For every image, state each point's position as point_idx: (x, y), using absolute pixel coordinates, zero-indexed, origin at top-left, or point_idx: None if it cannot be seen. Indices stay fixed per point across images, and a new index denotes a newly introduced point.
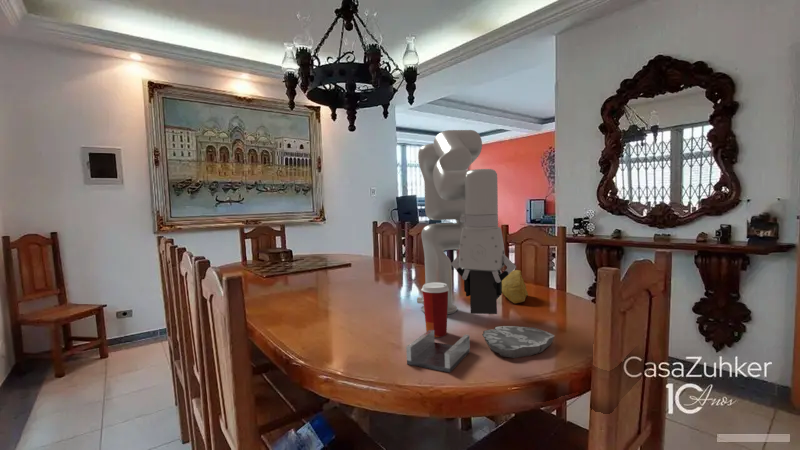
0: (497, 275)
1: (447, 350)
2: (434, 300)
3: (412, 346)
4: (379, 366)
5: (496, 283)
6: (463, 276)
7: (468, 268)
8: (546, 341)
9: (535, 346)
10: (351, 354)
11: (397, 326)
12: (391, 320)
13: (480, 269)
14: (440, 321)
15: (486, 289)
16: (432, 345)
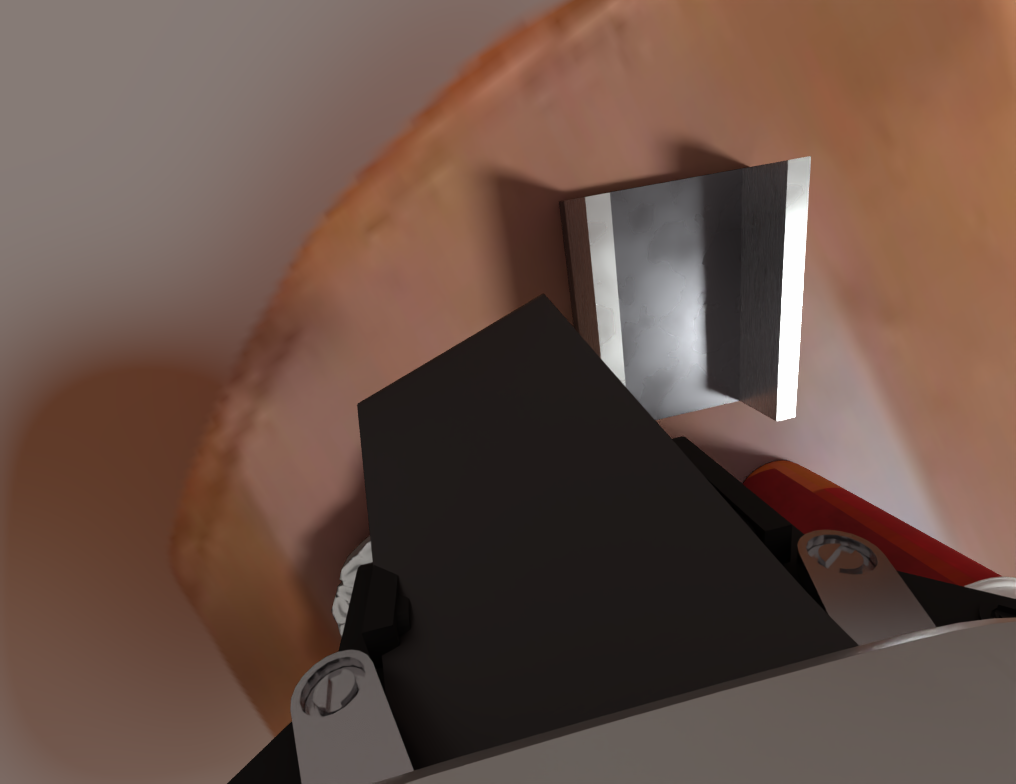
0: (324, 765)
1: (656, 359)
2: (905, 563)
3: (785, 182)
4: (845, 74)
5: (369, 639)
6: (866, 566)
7: (919, 647)
8: (340, 624)
9: (350, 559)
10: (1005, 111)
11: (937, 468)
12: (981, 502)
13: (629, 721)
14: (789, 514)
15: (473, 510)
16: (732, 367)
